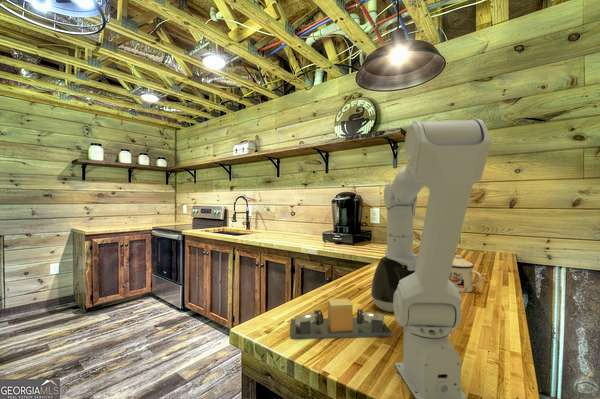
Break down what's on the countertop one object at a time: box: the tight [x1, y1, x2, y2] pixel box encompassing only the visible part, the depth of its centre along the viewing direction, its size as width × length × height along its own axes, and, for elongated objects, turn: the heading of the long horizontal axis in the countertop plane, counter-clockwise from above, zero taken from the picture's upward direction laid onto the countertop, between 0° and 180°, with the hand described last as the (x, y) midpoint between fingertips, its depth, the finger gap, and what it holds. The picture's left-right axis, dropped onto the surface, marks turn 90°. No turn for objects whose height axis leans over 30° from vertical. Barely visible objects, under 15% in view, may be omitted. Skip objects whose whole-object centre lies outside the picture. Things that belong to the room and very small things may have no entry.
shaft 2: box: [356, 308, 385, 333], centre depth 65 cm, size 6×3×4 cm, turn 72°
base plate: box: [290, 317, 392, 340], centre depth 67 cm, size 8×23×1 cm, turn 92°
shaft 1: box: [294, 309, 324, 335], centre depth 65 cm, size 6×3×4 cm, turn 112°
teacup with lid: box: [449, 254, 483, 293], centre depth 96 cm, size 12×9×12 cm
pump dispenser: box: [370, 255, 397, 313], centre depth 80 cm, size 10×10×15 cm
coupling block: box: [327, 298, 354, 332], centre depth 66 cm, size 4×5×6 cm
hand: (400, 293), depth 65 cm, fingers open, 7 cm apart
